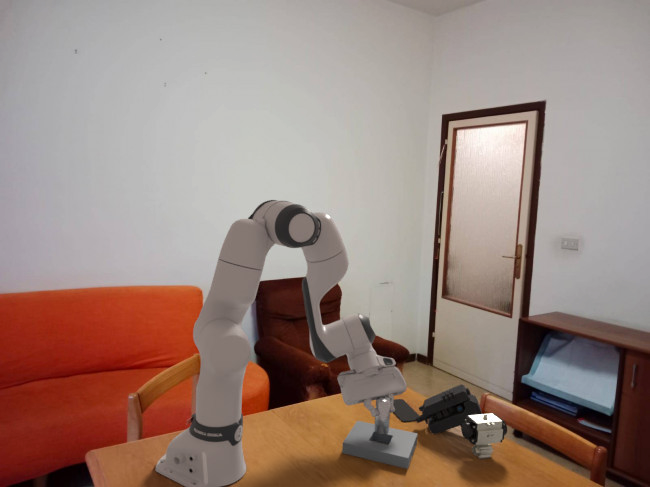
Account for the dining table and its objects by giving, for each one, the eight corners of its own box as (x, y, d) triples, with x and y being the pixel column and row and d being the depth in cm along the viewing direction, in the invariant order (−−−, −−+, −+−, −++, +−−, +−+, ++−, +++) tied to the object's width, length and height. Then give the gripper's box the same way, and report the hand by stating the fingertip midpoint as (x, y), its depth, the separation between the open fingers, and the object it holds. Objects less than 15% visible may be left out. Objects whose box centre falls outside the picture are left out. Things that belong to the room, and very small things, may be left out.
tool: (492, 433, 139) (469, 387, 139) (431, 455, 144) (409, 411, 144) (489, 423, 145) (467, 379, 145) (431, 445, 150) (410, 402, 150)
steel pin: (372, 432, 132) (374, 401, 131) (376, 425, 136) (378, 395, 135) (386, 435, 131) (388, 404, 130) (390, 428, 135) (392, 398, 134)
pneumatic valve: (458, 453, 133) (461, 412, 132) (495, 449, 136) (498, 408, 135) (469, 464, 128) (473, 421, 127) (507, 459, 131) (511, 418, 130)
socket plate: (342, 453, 130) (342, 442, 130) (356, 430, 144) (357, 420, 143) (407, 469, 124) (408, 458, 124) (416, 443, 137) (417, 433, 137)
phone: (402, 421, 150) (383, 400, 164) (402, 424, 150) (382, 402, 164) (423, 419, 152) (402, 398, 166) (423, 421, 152) (402, 400, 166)
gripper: (340, 368, 132) (357, 417, 125) (398, 358, 142) (418, 402, 135) (331, 377, 137) (347, 425, 129) (388, 367, 147) (407, 411, 139)
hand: (384, 413), depth 132 cm, fingers closed on steel pin, 4 cm apart
